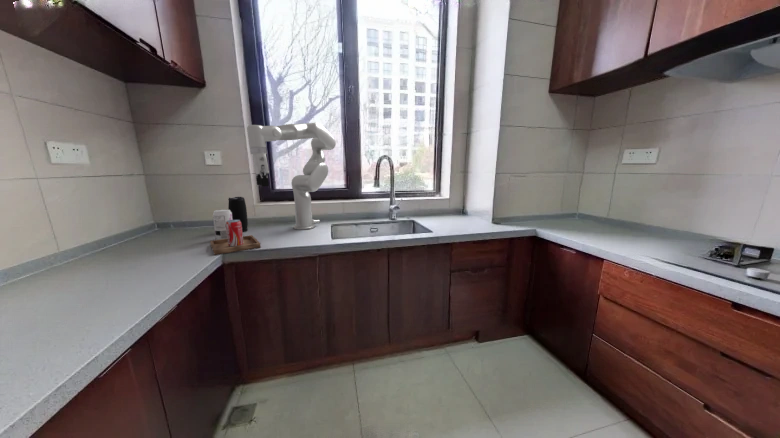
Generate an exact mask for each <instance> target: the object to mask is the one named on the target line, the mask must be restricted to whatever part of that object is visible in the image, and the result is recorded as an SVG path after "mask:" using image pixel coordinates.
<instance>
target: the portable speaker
mask: <svg viewBox="0 0 780 438" xmlns="http://www.w3.org/2000/svg"><path fill="white" fill-rule="evenodd" d="M227 199H228V208H227V210H230V211H231V213H232V219H233V220H240V222H241V224H242V232H243V231H245V232H247V231H248V227H249V225H248V224H249V222H248V219H249V218H248V212H247V211H248V210H247V205H246V204H247V203H246V200H245V197H243V196H235V197H228V198H227Z"/></svg>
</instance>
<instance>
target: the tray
mask: <svg viewBox="0 0 780 438" xmlns="http://www.w3.org/2000/svg"><path fill="white" fill-rule="evenodd" d="M209 242H210V247H211V250H212V252H213V255H214V256H218V255H224V254H225V255H226V254H230V253H231V254H232V253H236V252H244V251H249V250H248V249H250V250H253V249H254V248H256V249H260V247H262V246H261V242H260V241H258V239H257V238H256V237H255V236H253V234H251V235H243V243H244V244H243V245H241V246H235V247H230V246H229V245H228V239H221V240H216V239H213V240H210V241H209Z"/></svg>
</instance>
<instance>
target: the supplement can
mask: <svg viewBox="0 0 780 438" xmlns="http://www.w3.org/2000/svg"><path fill="white" fill-rule="evenodd" d="M212 218H213V219H212V220H213V228H214V234H215V240H221V239H227V231H226V222H227V221H228V220H233V219H232V213H231V211H230V210H228V208H227V209H216V210H213V213H212Z"/></svg>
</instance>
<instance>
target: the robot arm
mask: <svg viewBox="0 0 780 438" xmlns="http://www.w3.org/2000/svg"><path fill="white" fill-rule="evenodd" d="M246 132H247V138H248V145H249V153H250V155H252V162H253V163H252V164H253V169H254V173H255V179H256V180H255V181H256V185H257V186H261V187H269V178H268V177H269V176H268V174H269V173H270V170H269V169H270V168H269V163H268V159H267V154H268V151H267V144H266V143H267V142H275V141H295V140H296V141H297V140H304V139H307V140H308V139H311V142H310V146H311V150H312V151H311V152H312V154H311V156H310V157H309V159H308V160H307V161H306V163H305V164H304V167H303V168H302V173H303V174H298V175H295V176H294V177H292V179H291V188H292V191H293V192H292V193H293V199H294V200H293V201H294V210H295V211H294V212H295V213H294V214H295V216H294V217H295V225H293V229H294V230H300V231H301V230H310V229H311V230H312V229H314V228H315V227H316V224H320V223H321V221H320V219H313V213H312V212H313V211H312V210H313V209H312V208H313V207H312V198H311V197H312V196H311V194H310V193H314V192H316V191H318V190H319V189H320V188H321V186H322V185H323V183H324V182H325V180H326V178H327V176H328V175H329V167H328V165H327V163H326V155H325V152H324V151H331V150H333V149H335V148H336V144H337V143H336V139H335V137H334V136H333V135H332V134H331V133H330V132H329V130H328V129H326V127H324V126H323V125H322V124H321V123H319V122H308V123H306V122H305V123H289V124H282V125H261V124H248V125H247V127H246Z"/></svg>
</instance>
